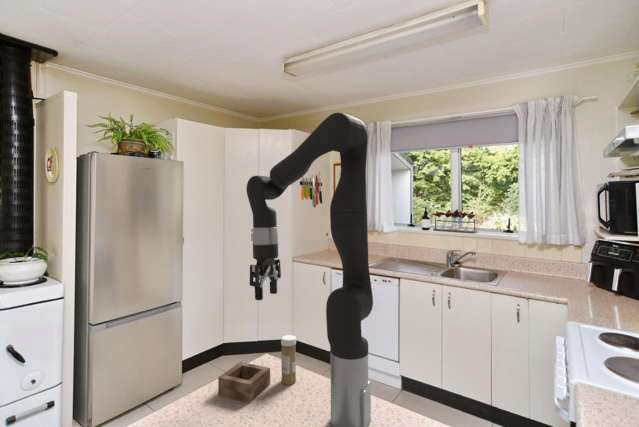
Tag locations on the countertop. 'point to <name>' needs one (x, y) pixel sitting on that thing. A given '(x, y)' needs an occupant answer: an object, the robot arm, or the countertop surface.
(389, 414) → the countertop surface
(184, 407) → the countertop surface
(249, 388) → the frame
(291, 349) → the sprinkles bottle
